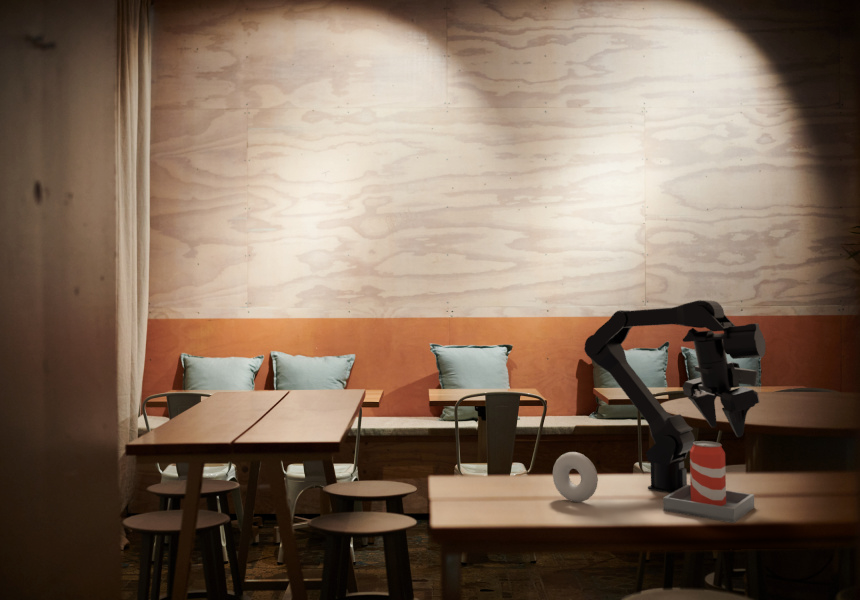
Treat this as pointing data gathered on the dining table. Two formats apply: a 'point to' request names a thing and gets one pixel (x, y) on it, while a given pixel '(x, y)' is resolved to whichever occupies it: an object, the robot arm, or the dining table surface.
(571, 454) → the donut
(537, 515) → the dining table surface
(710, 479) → the beverage can
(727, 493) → the tray
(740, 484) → the dining table surface
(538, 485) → the dining table surface
